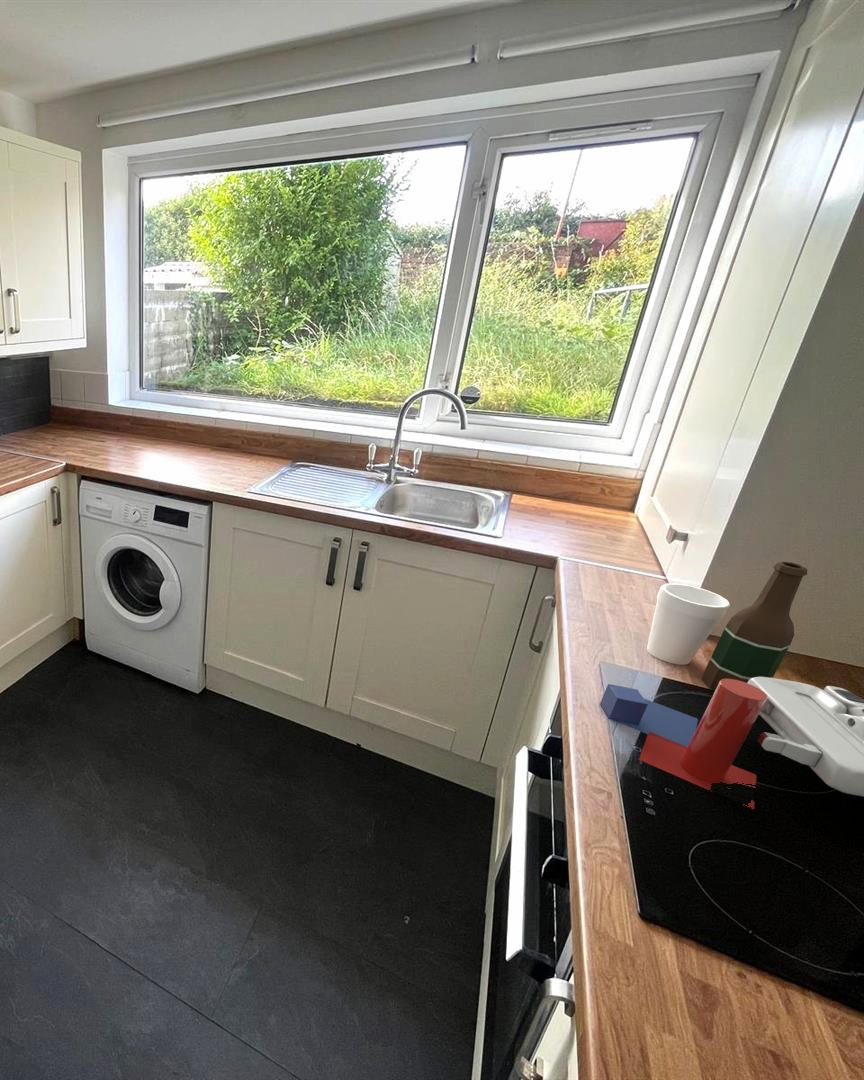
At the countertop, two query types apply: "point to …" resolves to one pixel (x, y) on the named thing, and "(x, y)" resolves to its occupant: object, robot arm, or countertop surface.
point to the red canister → (722, 730)
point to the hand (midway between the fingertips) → (741, 717)
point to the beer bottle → (758, 632)
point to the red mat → (669, 759)
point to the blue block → (623, 704)
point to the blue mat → (666, 723)
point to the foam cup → (683, 621)
